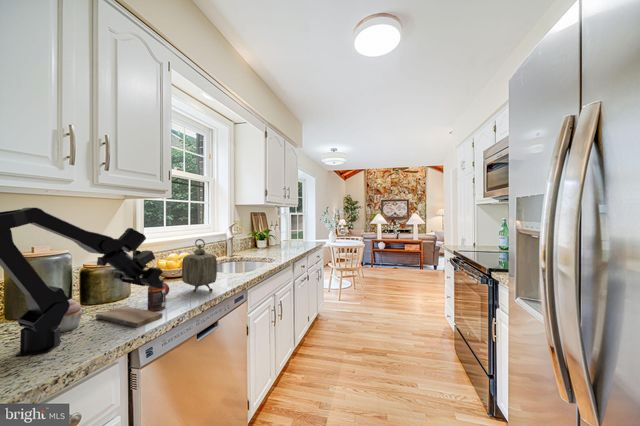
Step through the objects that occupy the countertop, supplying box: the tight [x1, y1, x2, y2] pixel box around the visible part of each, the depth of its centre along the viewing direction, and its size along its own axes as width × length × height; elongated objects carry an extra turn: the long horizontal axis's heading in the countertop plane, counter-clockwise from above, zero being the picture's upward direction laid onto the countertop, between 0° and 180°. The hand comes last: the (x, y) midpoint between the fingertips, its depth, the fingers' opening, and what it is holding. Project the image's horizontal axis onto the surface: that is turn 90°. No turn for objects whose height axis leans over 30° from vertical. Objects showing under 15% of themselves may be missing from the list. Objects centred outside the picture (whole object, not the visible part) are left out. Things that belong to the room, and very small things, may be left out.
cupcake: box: [58, 298, 86, 333], centre depth 83 cm, size 9×9×10 cm
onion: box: [163, 280, 170, 296], centre depth 113 cm, size 6×6×8 cm
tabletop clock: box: [181, 238, 218, 294], centre depth 125 cm, size 14×9×25 cm, turn 60°
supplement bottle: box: [147, 278, 167, 312], centre depth 102 cm, size 6×6×11 cm
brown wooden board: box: [94, 305, 163, 328], centre depth 92 cm, size 10×20×2 cm, turn 69°
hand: (153, 286), depth 100 cm, fingers open, 9 cm apart
